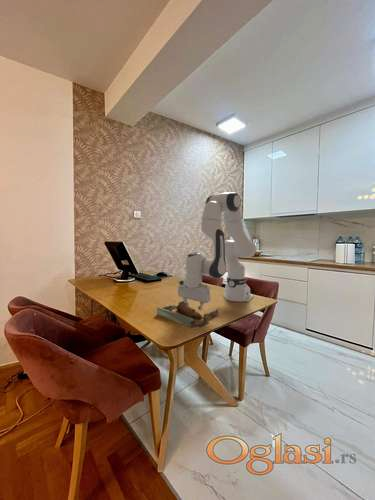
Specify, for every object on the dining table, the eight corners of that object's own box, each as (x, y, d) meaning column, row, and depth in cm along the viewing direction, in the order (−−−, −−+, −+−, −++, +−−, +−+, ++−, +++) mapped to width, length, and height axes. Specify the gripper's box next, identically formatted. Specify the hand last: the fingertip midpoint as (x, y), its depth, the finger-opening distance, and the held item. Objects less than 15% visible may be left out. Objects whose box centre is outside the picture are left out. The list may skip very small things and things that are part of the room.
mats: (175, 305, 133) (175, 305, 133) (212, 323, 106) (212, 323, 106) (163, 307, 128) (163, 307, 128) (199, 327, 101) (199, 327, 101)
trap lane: (184, 305, 133) (184, 298, 133) (218, 314, 118) (218, 307, 118) (156, 315, 117) (156, 307, 116) (192, 327, 101) (192, 319, 101)
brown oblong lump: (205, 318, 112) (200, 308, 110) (195, 327, 110) (189, 317, 108) (189, 307, 128) (184, 298, 126) (180, 315, 126) (174, 306, 124)
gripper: (212, 284, 115) (212, 310, 116) (183, 279, 129) (183, 302, 130) (205, 286, 111) (205, 313, 112) (176, 280, 124) (176, 305, 125)
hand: (193, 307), depth 121 cm, fingers open, 8 cm apart
